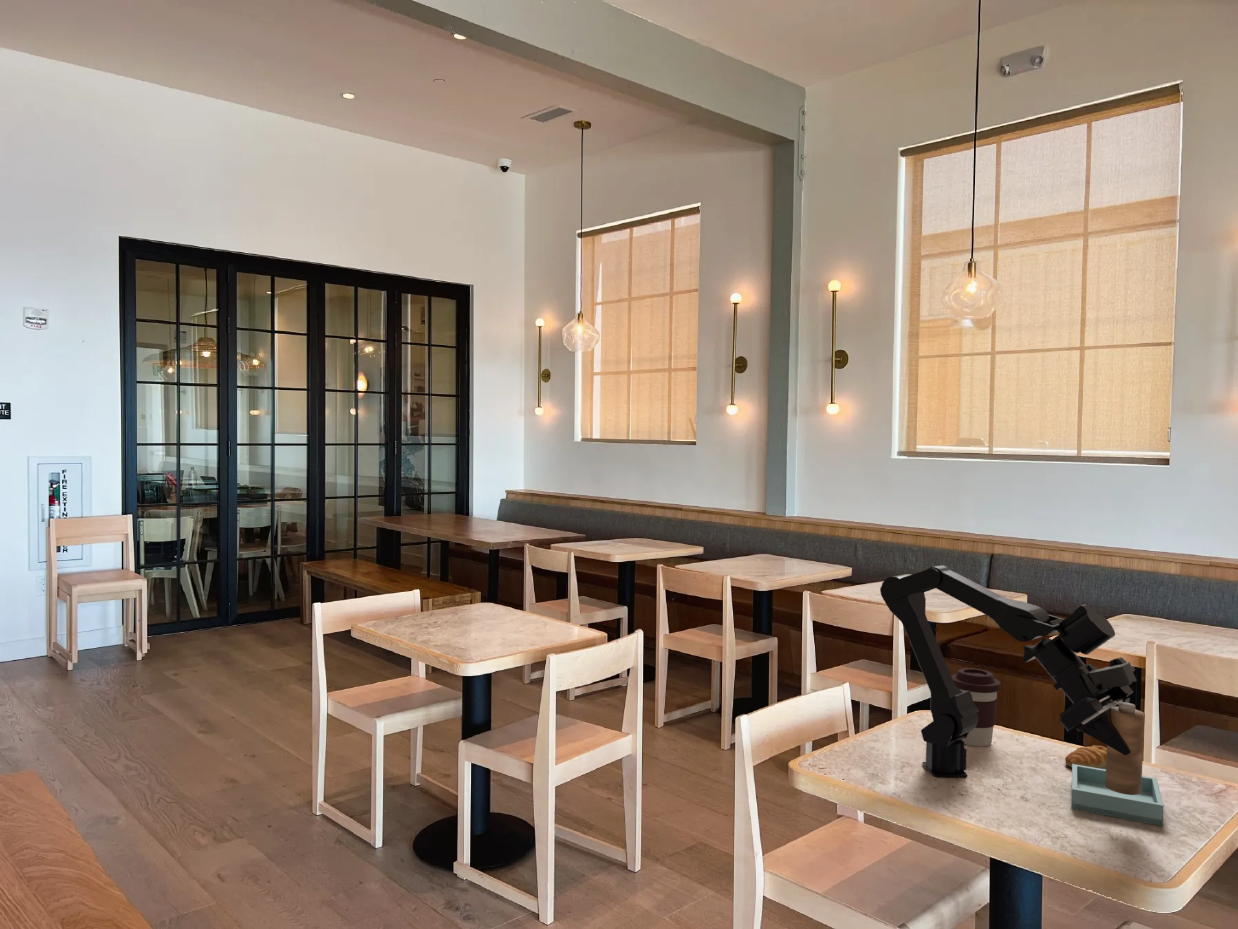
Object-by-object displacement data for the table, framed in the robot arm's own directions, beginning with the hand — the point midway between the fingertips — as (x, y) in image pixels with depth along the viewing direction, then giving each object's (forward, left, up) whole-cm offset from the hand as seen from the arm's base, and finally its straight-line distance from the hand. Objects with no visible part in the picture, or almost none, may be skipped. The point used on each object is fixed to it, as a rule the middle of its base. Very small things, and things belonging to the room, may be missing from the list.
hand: (1134, 750), depth 143 cm
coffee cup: (-9, +41, -13) cm, 44 cm away
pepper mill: (-1, +1, -7) cm, 7 cm away
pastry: (+9, +28, -14) cm, 33 cm away
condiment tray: (+3, +10, -13) cm, 17 cm away
